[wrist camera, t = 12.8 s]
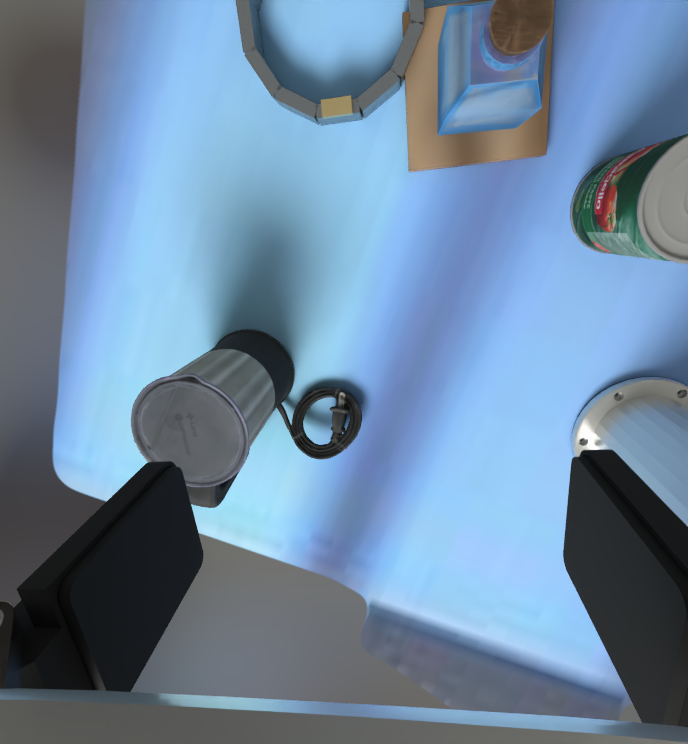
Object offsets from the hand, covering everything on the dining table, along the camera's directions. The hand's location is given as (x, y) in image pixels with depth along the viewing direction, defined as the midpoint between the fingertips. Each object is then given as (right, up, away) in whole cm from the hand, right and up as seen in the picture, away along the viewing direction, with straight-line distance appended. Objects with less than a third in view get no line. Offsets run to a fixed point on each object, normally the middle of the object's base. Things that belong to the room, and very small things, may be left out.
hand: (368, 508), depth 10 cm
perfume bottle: (+10, +26, +23) cm, 36 cm away
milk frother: (-7, +2, +35) cm, 36 cm away
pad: (+10, +26, +24) cm, 37 cm away
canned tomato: (+23, +18, +26) cm, 39 cm away
